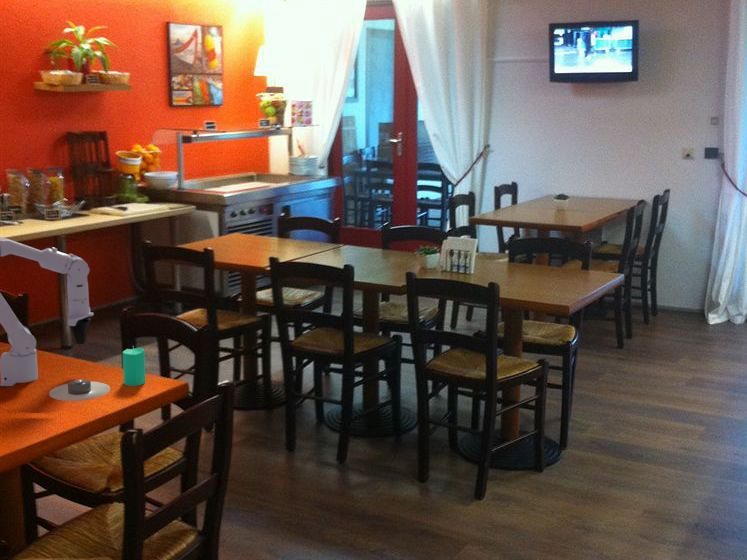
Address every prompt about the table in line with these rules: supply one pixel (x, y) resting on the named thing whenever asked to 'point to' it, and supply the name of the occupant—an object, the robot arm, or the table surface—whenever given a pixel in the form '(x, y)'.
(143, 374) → the candle
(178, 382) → the table surface
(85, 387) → the cover
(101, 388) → the cream flat disc
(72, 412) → the table surface
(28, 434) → the table surface
